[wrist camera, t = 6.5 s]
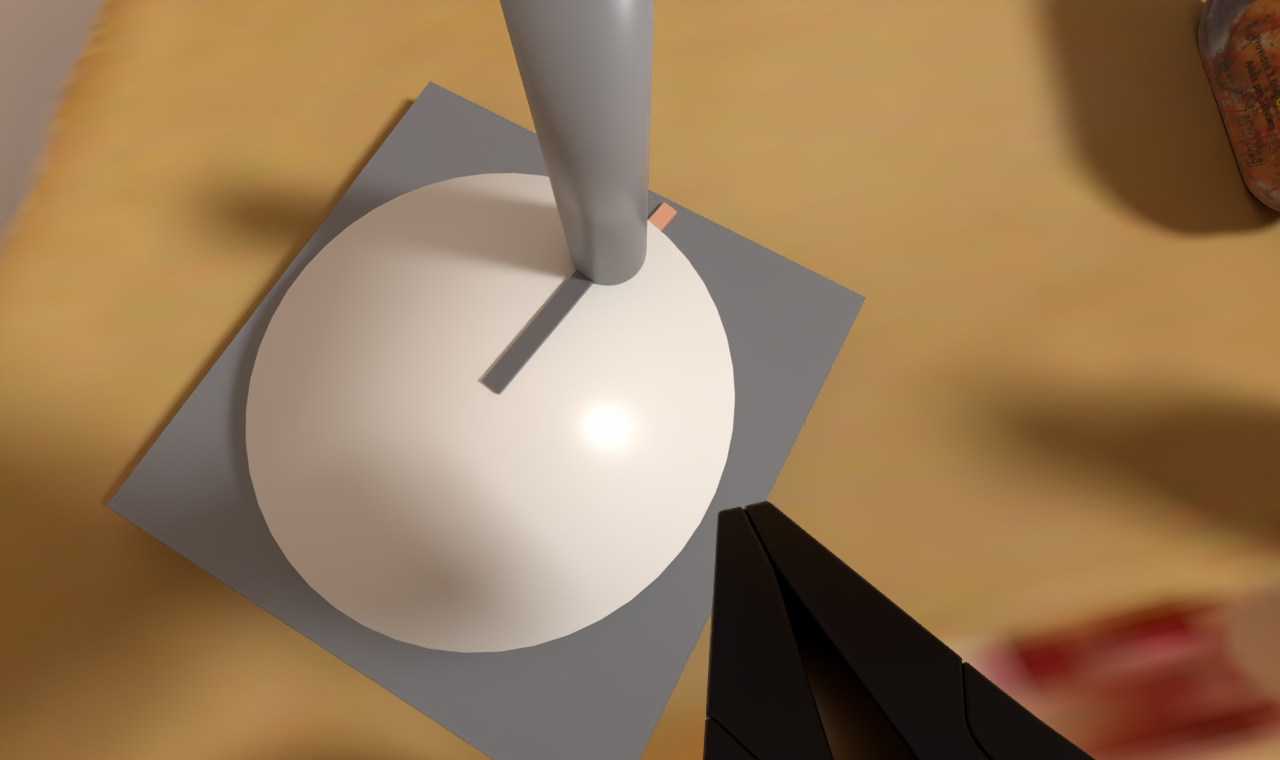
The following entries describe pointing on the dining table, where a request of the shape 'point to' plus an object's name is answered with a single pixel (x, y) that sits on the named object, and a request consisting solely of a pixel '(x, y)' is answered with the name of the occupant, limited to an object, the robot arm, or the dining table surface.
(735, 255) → the dial board
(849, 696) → the robot arm
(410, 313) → the dial
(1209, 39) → the tin
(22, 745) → the dining table surface
